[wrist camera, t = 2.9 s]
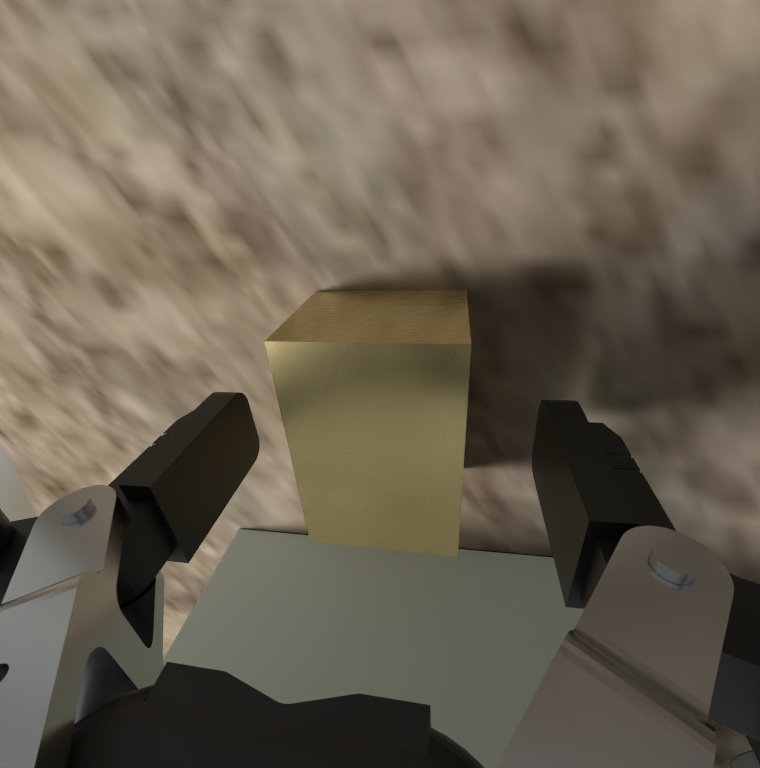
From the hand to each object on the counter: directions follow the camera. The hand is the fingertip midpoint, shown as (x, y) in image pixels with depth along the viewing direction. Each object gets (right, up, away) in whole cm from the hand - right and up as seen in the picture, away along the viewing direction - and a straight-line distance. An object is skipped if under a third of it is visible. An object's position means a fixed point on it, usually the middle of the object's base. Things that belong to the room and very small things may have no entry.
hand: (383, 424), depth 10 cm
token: (0, +1, +2) cm, 2 cm away
